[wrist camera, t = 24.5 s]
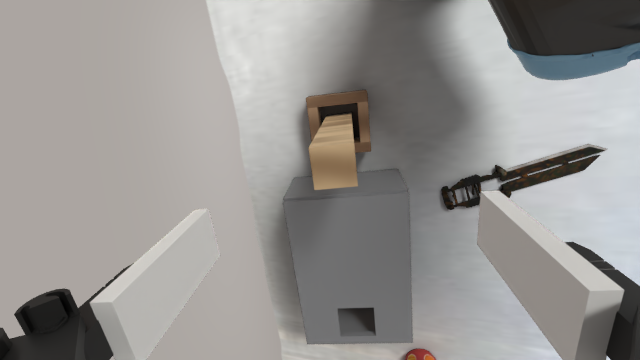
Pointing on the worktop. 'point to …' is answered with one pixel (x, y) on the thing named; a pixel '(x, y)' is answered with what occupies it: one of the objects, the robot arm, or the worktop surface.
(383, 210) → the box
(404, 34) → the worktop surface
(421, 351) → the smoothie
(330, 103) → the square wooden socket
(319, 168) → the light wood square bar
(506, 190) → the knife
